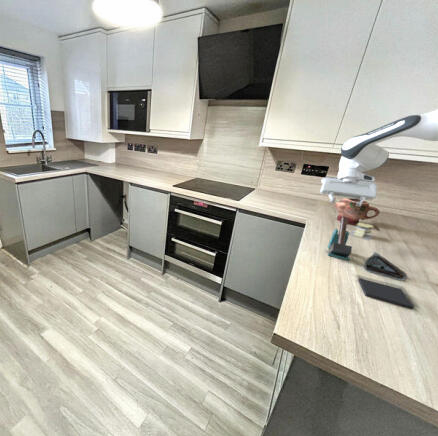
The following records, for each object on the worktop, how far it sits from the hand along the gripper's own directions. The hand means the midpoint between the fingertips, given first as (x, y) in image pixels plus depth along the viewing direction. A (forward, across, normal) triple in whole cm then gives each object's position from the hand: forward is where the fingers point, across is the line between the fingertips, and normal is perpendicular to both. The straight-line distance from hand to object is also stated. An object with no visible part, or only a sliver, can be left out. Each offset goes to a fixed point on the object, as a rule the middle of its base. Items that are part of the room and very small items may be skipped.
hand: (345, 203), depth 107 cm
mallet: (+23, 0, +4) cm, 23 cm away
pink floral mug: (-14, +14, +41) cm, 45 cm away
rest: (+24, 0, +3) cm, 24 cm away
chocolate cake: (+29, +13, -2) cm, 32 cm away
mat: (+42, +9, -15) cm, 45 cm away
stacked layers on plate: (0, +15, +27) cm, 31 cm away
